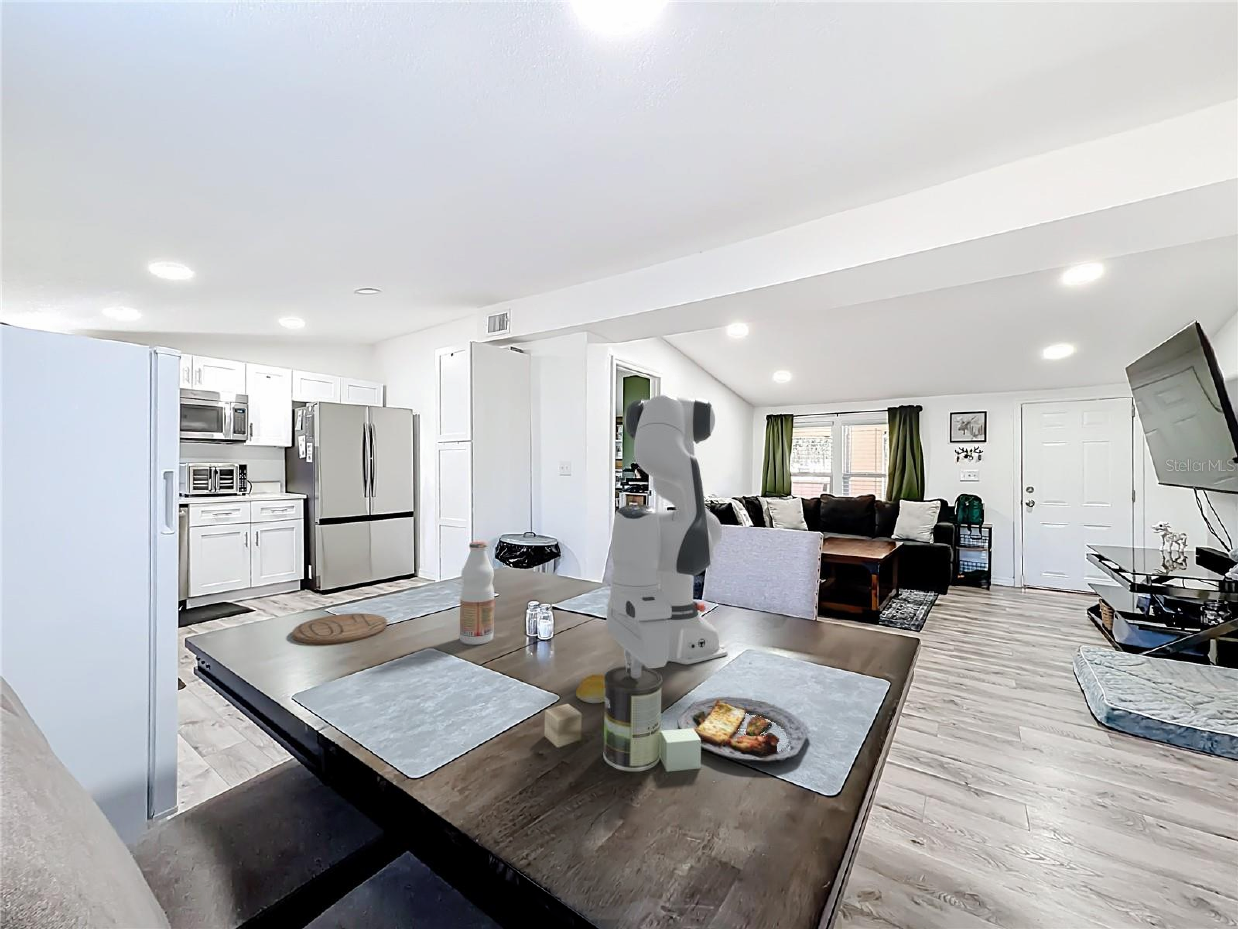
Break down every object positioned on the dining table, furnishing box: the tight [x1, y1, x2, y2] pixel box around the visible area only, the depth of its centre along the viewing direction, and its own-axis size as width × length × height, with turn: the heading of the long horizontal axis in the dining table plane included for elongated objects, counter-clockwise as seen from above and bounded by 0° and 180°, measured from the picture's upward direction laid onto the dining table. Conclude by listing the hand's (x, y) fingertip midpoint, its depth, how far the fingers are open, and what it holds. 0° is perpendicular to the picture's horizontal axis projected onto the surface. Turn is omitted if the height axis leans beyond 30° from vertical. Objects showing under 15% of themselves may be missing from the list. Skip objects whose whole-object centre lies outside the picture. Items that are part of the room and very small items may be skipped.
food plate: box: [676, 696, 811, 764], centre depth 104 cm, size 25×23×4 cm
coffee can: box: [602, 665, 663, 773], centre depth 96 cm, size 10×10×14 cm
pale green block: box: [660, 728, 702, 772], centre depth 94 cm, size 6×4×5 cm, turn 101°
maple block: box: [544, 703, 582, 748], centre depth 102 cm, size 5×5×5 cm
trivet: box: [292, 613, 388, 646], centre depth 161 cm, size 25×25×2 cm
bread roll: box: [575, 673, 605, 704], centre depth 120 cm, size 8×9×4 cm
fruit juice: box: [459, 541, 495, 646], centre depth 155 cm, size 9×9×28 cm
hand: (633, 675), depth 96 cm, fingers closed
